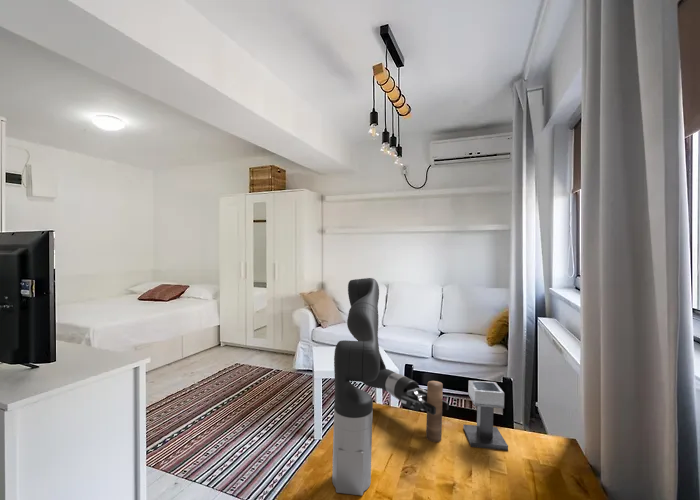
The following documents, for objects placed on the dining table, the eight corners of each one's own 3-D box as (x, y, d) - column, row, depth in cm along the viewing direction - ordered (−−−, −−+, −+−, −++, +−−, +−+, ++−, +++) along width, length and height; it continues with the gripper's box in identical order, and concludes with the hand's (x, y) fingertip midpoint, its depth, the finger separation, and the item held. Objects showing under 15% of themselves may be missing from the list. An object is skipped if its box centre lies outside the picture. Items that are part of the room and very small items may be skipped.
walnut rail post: (442, 442, 96) (443, 387, 96) (427, 441, 96) (428, 386, 96) (440, 434, 100) (441, 381, 100) (425, 432, 100) (426, 380, 101)
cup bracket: (508, 450, 93) (509, 394, 93) (471, 446, 94) (472, 392, 94) (496, 431, 102) (497, 381, 103) (463, 428, 104) (464, 378, 104)
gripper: (385, 380, 106) (424, 401, 92) (417, 372, 114) (458, 390, 100) (384, 404, 106) (423, 428, 92) (417, 394, 114) (457, 415, 100)
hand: (441, 408), depth 96 cm, fingers open, 5 cm apart
